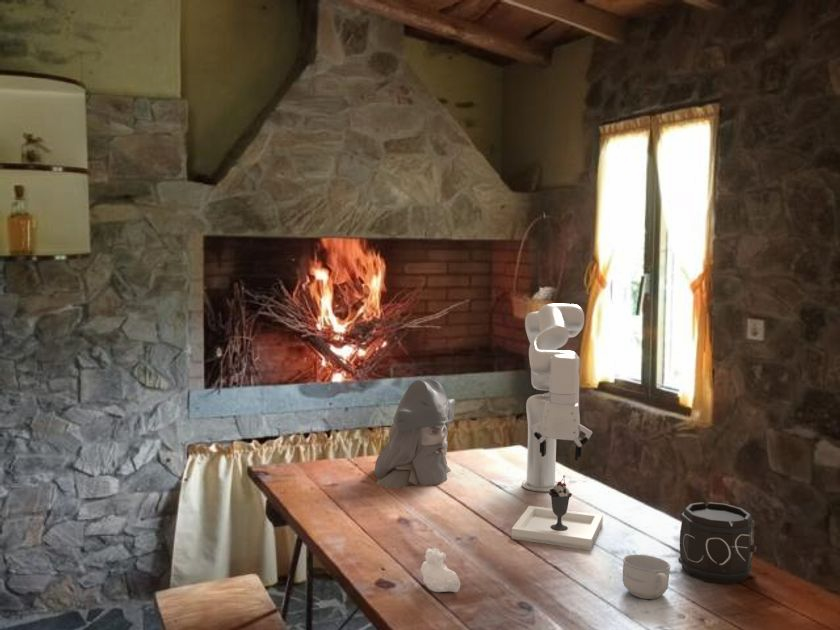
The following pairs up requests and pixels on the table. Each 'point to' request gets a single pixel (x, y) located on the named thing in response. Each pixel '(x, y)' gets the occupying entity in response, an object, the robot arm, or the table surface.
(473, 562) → the table surface
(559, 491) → the sundae
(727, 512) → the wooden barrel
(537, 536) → the tray
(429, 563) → the cream lumpy figure
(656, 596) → the teacup
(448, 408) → the bust
